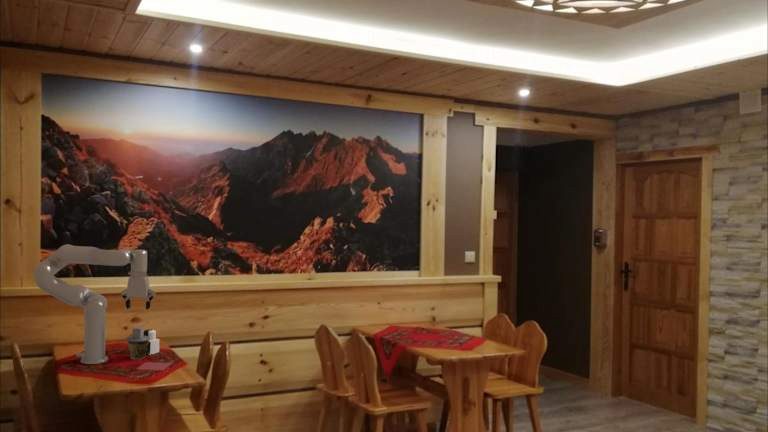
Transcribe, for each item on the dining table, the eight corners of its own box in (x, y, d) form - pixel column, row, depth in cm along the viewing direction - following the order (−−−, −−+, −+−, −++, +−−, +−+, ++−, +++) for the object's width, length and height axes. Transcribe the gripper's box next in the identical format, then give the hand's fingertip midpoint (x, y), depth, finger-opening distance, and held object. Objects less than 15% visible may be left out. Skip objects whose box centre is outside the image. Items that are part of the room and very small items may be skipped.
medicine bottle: (139, 353, 351) (139, 330, 351) (148, 350, 358) (149, 328, 357) (150, 355, 348) (150, 332, 348) (159, 352, 355) (159, 329, 355)
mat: (136, 370, 320) (136, 369, 320) (145, 363, 333) (145, 362, 333) (163, 371, 320) (163, 370, 320) (172, 364, 333) (172, 363, 333)
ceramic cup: (128, 356, 344) (128, 337, 344) (149, 356, 347) (149, 336, 346) (125, 363, 332) (125, 342, 331) (146, 362, 334) (147, 342, 334)
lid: (122, 341, 333) (122, 329, 333) (131, 337, 344) (131, 325, 344) (144, 342, 333) (145, 330, 333) (152, 337, 344) (152, 326, 344)
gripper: (118, 274, 334) (117, 309, 334) (153, 276, 334) (152, 310, 334) (124, 273, 341) (123, 306, 342) (158, 274, 341) (157, 308, 342)
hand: (138, 308), depth 338 cm, fingers open, 9 cm apart
